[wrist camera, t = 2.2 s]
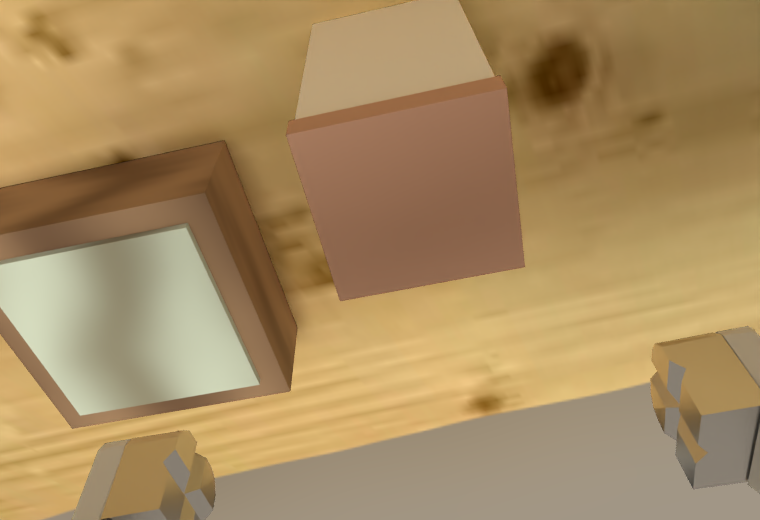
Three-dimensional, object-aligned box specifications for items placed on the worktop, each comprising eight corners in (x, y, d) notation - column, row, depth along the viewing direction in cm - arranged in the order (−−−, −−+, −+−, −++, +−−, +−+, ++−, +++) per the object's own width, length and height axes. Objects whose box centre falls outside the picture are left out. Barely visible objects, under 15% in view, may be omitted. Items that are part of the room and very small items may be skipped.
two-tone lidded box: (456, -12, 22) (506, 87, 15) (475, 126, 25) (524, 266, 18) (309, 21, 23) (285, 134, 15) (344, 153, 26) (340, 301, 18)
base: (224, 140, 25) (202, 197, 22) (297, 328, 31) (289, 396, 27) (-13, 191, 26) (-70, 253, 23) (101, 363, 32) (69, 434, 28)
